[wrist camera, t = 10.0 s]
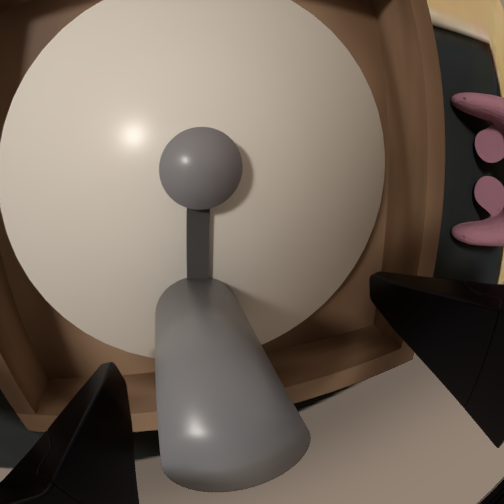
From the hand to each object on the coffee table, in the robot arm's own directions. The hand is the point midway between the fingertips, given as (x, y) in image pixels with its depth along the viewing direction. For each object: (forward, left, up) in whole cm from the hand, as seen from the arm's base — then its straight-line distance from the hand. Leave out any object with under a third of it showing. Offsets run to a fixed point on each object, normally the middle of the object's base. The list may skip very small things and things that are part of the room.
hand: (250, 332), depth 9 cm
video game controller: (+17, +5, -4) cm, 18 cm away
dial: (-1, +5, -3) cm, 6 cm away
